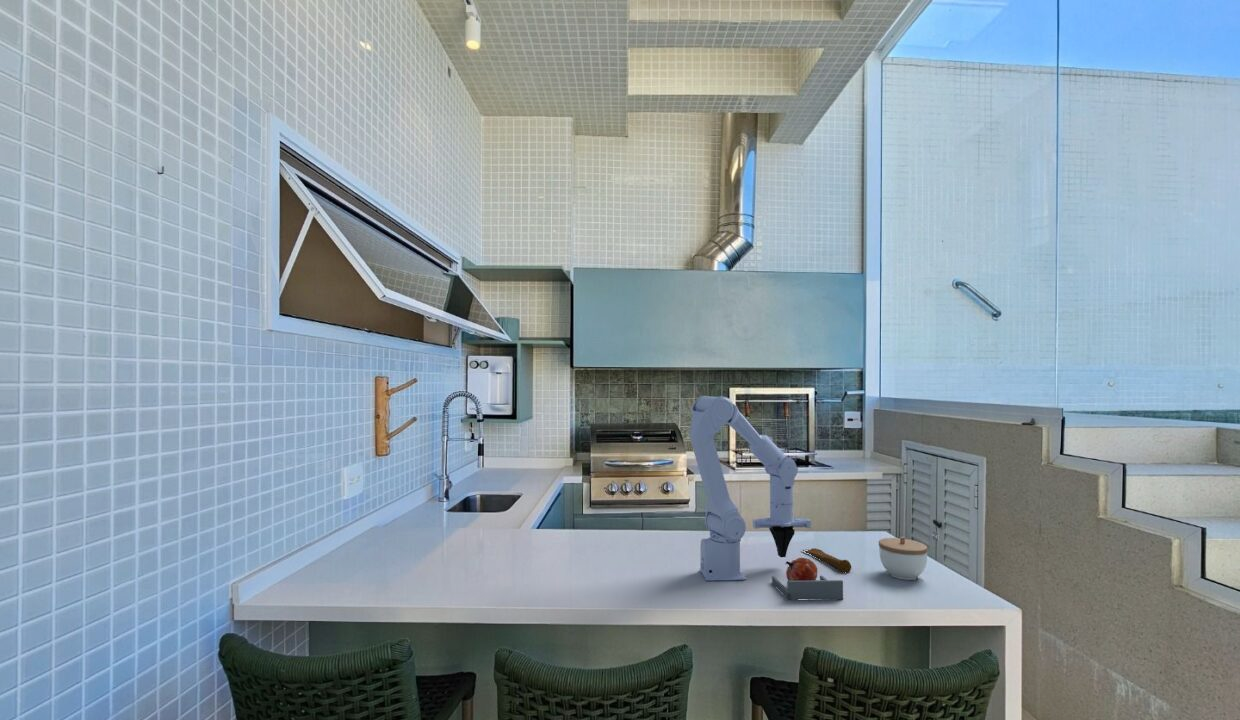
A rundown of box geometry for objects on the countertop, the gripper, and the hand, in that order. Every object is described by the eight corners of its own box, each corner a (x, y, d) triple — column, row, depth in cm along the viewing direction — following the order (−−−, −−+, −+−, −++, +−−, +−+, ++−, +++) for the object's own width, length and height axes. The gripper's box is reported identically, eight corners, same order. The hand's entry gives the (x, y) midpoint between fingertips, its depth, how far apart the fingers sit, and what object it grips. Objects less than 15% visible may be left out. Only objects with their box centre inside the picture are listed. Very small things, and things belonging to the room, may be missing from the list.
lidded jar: (870, 569, 140) (869, 531, 141) (909, 567, 141) (908, 530, 142) (896, 584, 130) (895, 544, 130) (938, 582, 131) (937, 542, 131)
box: (788, 600, 119) (788, 581, 120) (772, 582, 130) (772, 565, 130) (843, 599, 120) (842, 580, 120) (822, 581, 131) (822, 564, 131)
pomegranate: (809, 593, 130) (774, 565, 131) (829, 570, 128) (794, 543, 130) (813, 609, 122) (776, 579, 124) (834, 585, 121) (797, 556, 122)
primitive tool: (799, 552, 155) (799, 539, 156) (816, 551, 156) (816, 538, 157) (839, 575, 137) (839, 561, 137) (859, 574, 138) (859, 560, 138)
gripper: (758, 506, 137) (758, 561, 137) (815, 505, 138) (815, 560, 137) (750, 500, 144) (750, 552, 144) (804, 499, 145) (804, 552, 144)
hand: (781, 556), depth 141 cm, fingers closed
